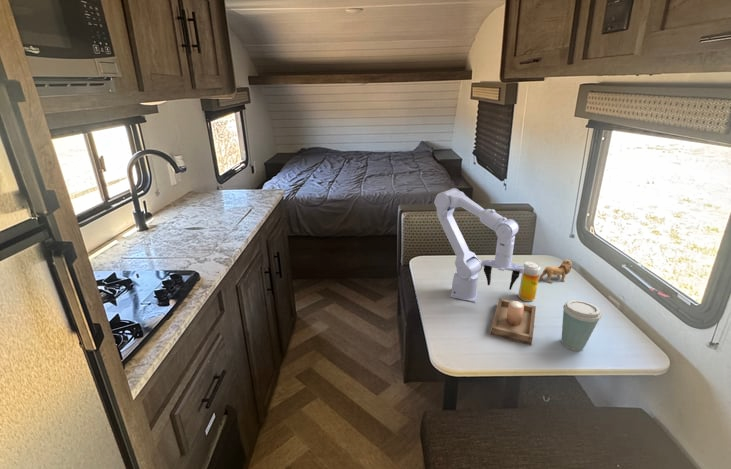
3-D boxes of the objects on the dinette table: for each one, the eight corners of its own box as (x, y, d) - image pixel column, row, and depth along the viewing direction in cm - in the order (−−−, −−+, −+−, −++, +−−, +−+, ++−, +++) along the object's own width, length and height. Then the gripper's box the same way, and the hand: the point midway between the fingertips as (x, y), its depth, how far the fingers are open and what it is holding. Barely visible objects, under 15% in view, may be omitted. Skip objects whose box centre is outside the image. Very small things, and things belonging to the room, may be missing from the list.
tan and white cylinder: (505, 323, 132) (507, 306, 129) (507, 315, 136) (509, 299, 134) (520, 327, 130) (523, 309, 127) (521, 319, 134) (524, 302, 131)
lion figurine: (563, 275, 166) (567, 257, 163) (572, 281, 162) (576, 262, 158) (535, 279, 163) (538, 261, 159) (543, 285, 158) (547, 266, 155)
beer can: (536, 302, 146) (542, 268, 140) (519, 301, 147) (525, 267, 141) (532, 294, 151) (539, 261, 146) (517, 293, 153) (522, 260, 147)
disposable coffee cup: (550, 334, 128) (558, 296, 122) (582, 334, 128) (591, 296, 122) (564, 355, 118) (574, 315, 112) (599, 355, 118) (610, 315, 112)
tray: (490, 334, 128) (491, 327, 127) (498, 305, 145) (499, 298, 144) (531, 345, 123) (532, 337, 122) (534, 313, 139) (535, 306, 138)
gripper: (481, 254, 134) (477, 287, 139) (524, 261, 128) (519, 295, 133) (484, 246, 140) (480, 278, 145) (526, 253, 134) (521, 286, 139)
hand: (499, 286), depth 140 cm, fingers open, 7 cm apart
